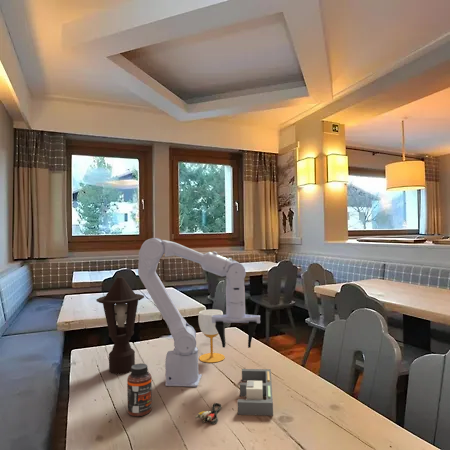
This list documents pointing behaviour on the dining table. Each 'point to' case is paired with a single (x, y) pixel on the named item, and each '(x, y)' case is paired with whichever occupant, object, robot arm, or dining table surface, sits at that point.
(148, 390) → the supplement bottle
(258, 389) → the plug
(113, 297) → the lantern
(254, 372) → the socket panel
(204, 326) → the cup
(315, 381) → the dining table surface
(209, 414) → the composite cable
